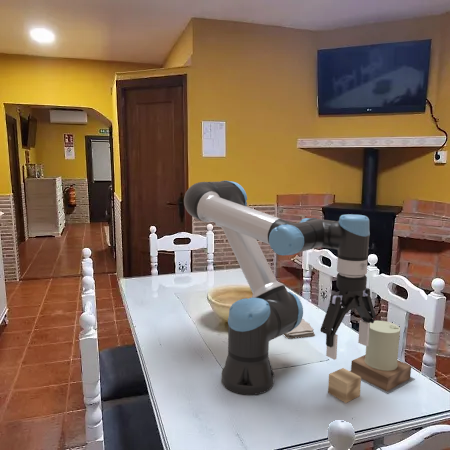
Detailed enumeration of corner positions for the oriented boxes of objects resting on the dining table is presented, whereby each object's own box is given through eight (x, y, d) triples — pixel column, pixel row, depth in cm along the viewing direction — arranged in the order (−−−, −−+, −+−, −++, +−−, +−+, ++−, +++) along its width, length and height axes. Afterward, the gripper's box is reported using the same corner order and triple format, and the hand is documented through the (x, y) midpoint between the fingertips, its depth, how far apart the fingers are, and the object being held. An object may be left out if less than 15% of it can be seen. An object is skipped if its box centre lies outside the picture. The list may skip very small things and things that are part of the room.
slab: (386, 391, 113) (387, 378, 113) (350, 373, 123) (351, 360, 122) (410, 378, 120) (411, 365, 120) (374, 362, 130) (375, 350, 129)
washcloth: (287, 341, 146) (288, 333, 146) (268, 322, 163) (268, 314, 163) (317, 337, 150) (317, 329, 149) (295, 319, 167) (295, 312, 166)
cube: (345, 404, 108) (347, 383, 107) (327, 394, 112) (329, 374, 111) (359, 397, 111) (361, 377, 110) (341, 387, 116) (343, 367, 115)
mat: (387, 395, 112) (387, 394, 112) (345, 373, 123) (345, 372, 123) (415, 380, 120) (415, 378, 120) (373, 361, 131) (373, 360, 131)
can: (400, 372, 116) (404, 332, 114) (366, 369, 117) (369, 329, 116) (394, 357, 125) (397, 320, 123) (362, 354, 126) (365, 317, 125)
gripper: (332, 285, 96) (328, 369, 99) (392, 269, 111) (387, 343, 114) (308, 278, 102) (305, 357, 105) (368, 264, 117) (364, 334, 120)
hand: (347, 350), depth 109 cm, fingers open, 13 cm apart
